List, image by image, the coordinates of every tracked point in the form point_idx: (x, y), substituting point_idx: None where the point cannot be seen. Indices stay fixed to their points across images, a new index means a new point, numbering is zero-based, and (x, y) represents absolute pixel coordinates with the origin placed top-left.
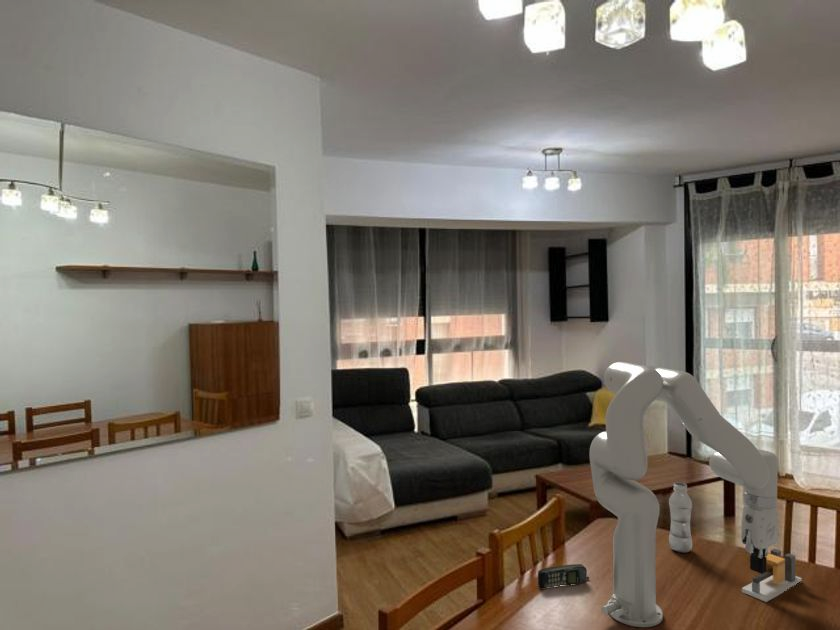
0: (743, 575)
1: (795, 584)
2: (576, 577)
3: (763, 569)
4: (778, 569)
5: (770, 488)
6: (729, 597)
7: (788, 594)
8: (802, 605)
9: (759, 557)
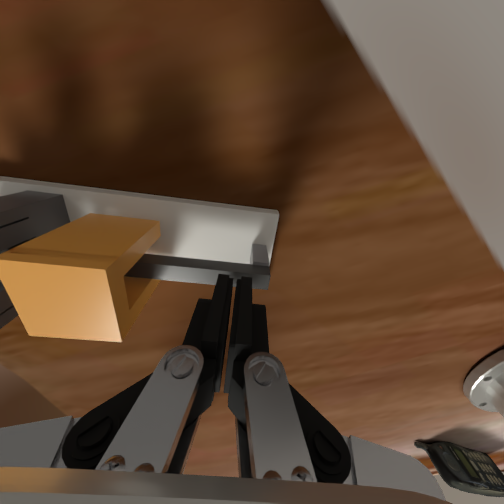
0: (156, 310)
1: (50, 182)
2: (459, 459)
3: (248, 289)
4: (113, 246)
5: None
6: (323, 288)
7: (151, 175)
8: (194, 98)
9: (278, 367)
